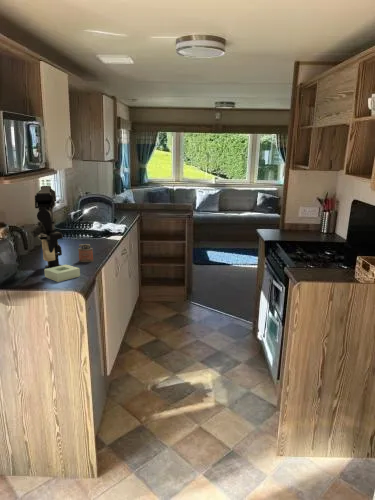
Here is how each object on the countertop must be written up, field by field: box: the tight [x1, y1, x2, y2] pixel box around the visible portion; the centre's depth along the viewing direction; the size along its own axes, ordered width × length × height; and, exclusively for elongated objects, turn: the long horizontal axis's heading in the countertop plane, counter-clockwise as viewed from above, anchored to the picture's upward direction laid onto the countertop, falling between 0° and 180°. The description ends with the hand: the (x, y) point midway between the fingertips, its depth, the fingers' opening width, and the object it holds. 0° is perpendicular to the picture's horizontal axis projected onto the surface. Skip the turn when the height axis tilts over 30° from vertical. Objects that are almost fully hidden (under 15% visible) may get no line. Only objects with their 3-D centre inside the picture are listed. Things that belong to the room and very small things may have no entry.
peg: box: [41, 239, 55, 262], centre depth 183 cm, size 4×4×10 cm
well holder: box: [44, 264, 81, 283], centre depth 187 cm, size 12×12×4 cm
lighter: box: [77, 243, 94, 263], centre depth 216 cm, size 8×3×10 cm, turn 92°
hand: (48, 251), depth 183 cm, fingers closed on peg, 4 cm apart
